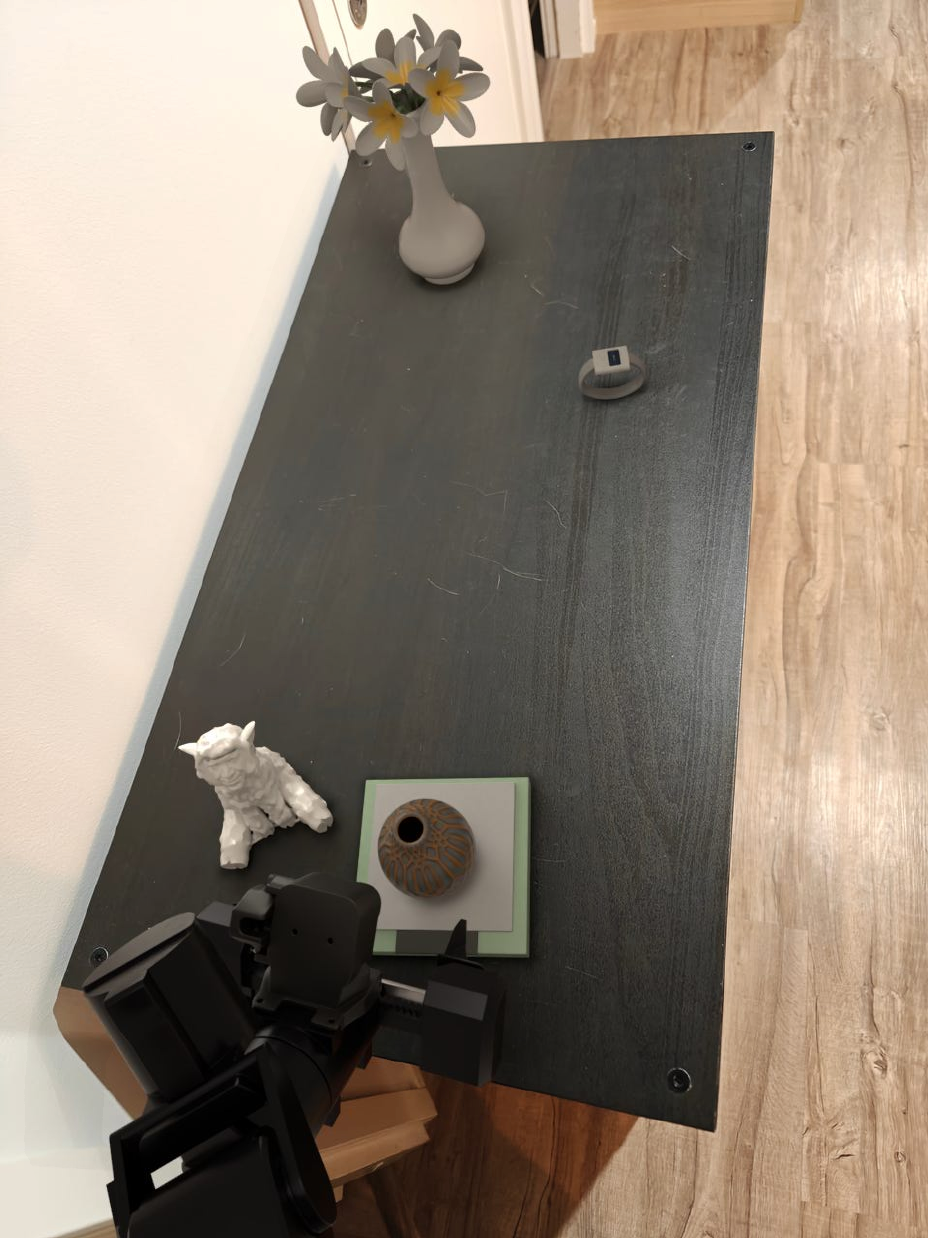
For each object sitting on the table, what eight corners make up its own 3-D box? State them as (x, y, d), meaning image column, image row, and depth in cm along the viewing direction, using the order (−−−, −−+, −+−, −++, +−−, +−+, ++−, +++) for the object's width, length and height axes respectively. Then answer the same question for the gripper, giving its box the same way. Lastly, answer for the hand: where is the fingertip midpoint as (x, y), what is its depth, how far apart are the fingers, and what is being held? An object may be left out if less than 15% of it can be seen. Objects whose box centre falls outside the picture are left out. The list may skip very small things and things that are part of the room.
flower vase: (380, 223, 108) (309, -2, 87) (536, 228, 103) (502, -10, 82) (345, 306, 103) (260, 89, 81) (507, 316, 98) (463, 86, 76)
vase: (379, 893, 70) (345, 865, 63) (410, 805, 73) (380, 768, 65) (466, 920, 68) (441, 894, 61) (494, 829, 71) (474, 793, 63)
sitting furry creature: (229, 878, 75) (159, 838, 65) (203, 784, 79) (134, 732, 69) (338, 828, 75) (286, 780, 65) (306, 736, 80) (253, 678, 69)
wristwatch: (582, 410, 90) (578, 374, 86) (579, 388, 92) (575, 352, 87) (647, 400, 90) (646, 363, 85) (643, 378, 91) (642, 341, 87)
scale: (529, 959, 68) (525, 955, 66) (355, 956, 70) (347, 952, 69) (531, 783, 74) (528, 775, 72) (371, 786, 76) (364, 778, 75)
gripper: (465, 1000, 42) (545, 829, 56) (111, 905, 47) (266, 770, 62) (453, 1189, 46) (532, 983, 60) (125, 1081, 51) (269, 915, 65)
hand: (396, 908), depth 61 cm, fingers open, 9 cm apart
